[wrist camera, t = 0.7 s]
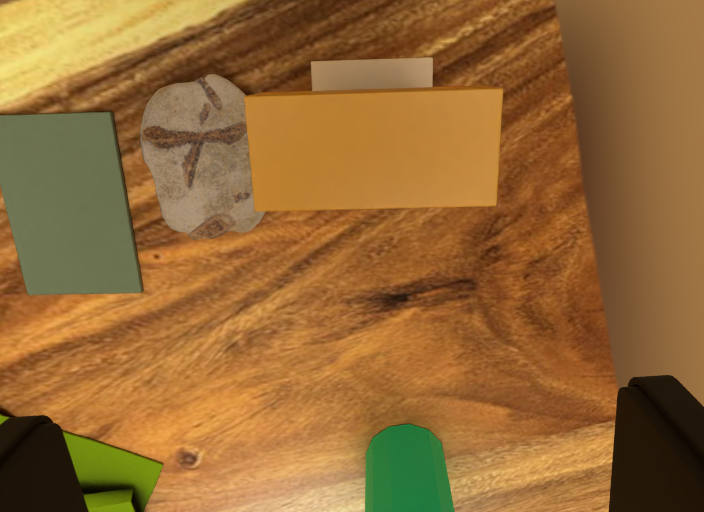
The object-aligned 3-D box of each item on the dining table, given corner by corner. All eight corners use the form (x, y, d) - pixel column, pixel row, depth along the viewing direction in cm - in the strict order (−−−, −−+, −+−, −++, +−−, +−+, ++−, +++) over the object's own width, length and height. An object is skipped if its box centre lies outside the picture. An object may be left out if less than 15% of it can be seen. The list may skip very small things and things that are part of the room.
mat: (-13, 115, 34) (-18, 115, 33) (112, 111, 33) (109, 112, 33) (31, 292, 37) (27, 295, 37) (143, 291, 37) (141, 293, 37)
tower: (312, 61, 32) (287, 59, 22) (431, 57, 32) (456, 53, 22) (318, 178, 34) (298, 221, 25) (429, 176, 34) (451, 217, 24)
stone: (134, 89, 33) (114, 91, 30) (250, 67, 32) (240, 67, 30) (177, 238, 36) (163, 251, 33) (285, 221, 35) (278, 232, 33)
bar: (260, 92, 23) (243, 96, 20) (485, 85, 22) (503, 88, 19) (268, 194, 24) (254, 212, 21) (480, 188, 24) (496, 206, 21)
